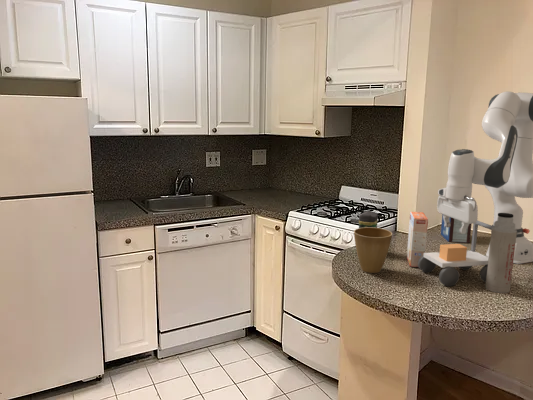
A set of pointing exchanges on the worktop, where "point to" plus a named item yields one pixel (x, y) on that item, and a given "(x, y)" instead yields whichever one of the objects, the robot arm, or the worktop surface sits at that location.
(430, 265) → the cart
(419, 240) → the cracker box
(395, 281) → the worktop surface
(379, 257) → the plant pot
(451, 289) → the worktop surface
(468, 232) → the protein box
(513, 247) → the thermos bottle
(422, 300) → the worktop surface
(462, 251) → the block
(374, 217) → the coffee jar
